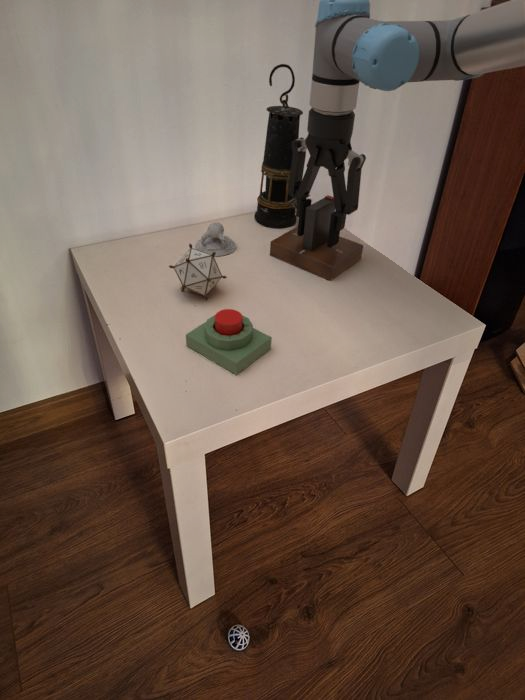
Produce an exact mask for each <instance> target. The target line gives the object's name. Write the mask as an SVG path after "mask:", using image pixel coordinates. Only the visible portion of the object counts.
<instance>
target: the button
mask: <svg viewBox="0 0 525 700" xmlns="http://www.w3.org/2000/svg"><path fill="white" fill-rule="evenodd" d="M214 315H215V330H216V332H217V333H219V334H220V335H226V336H232V335H237V334H239V333H240V332H241V331H242V318H243V317H242V315H243V314H242V313H241V312H240V311H239V310H236V309H234V308H233V309H232V308H224V309H221V310H218V312H216V313H215V314H214Z"/></svg>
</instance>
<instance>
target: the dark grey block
mask: <svg viewBox="0 0 525 700" xmlns="http://www.w3.org/2000/svg"><path fill="white" fill-rule="evenodd" d="M333 212H335V204H334V197H333V196H332V195H329V194H327V195H325V196H324V197H322V198H320V199H319V200H318V201H315V202H313V203H311V205H310V206H308V207H306V217H305V227H304V238H303V248H305V249H307V250H310V251H312V250H314V249H315V248H317V247H318V246H320V245H321V244H323V243H325V242H326V241H328V236H329V228H330V221H331V214H332V213H333Z"/></svg>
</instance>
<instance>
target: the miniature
mask: <svg viewBox="0 0 525 700" xmlns="http://www.w3.org/2000/svg"><path fill="white" fill-rule="evenodd" d="M224 232H225V227H224V225H223V223H220V222H211V223H210V224H209V225H208V227H207V230H206V232H205V233H203V234H202V235H201V238H200V239H199V240H198V241H197V242H196V243H195V245H194V247H195V248H194V249H197V250H200V251H203V252H206V253H209V254H212V253H213V252H216V255H215V257H224V256H228V255H231V254H233V253H234V252H235V251H236V250H237V244H236V242H234V241H233V240H232V239H231V238H230V237H229V236H227V235H226V236H225V235H224Z"/></svg>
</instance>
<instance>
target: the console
mask: <svg viewBox="0 0 525 700" xmlns="http://www.w3.org/2000/svg"><path fill="white" fill-rule="evenodd" d="M297 233H298V225H297V226H296V227H294V228H292V229H291V230H288V231H287V232H285V233H283V234H282V235H279V236H277V237H276V238H274V239H272V240H271V241H270V244H269V256H271V257H273V258H275V259H278V260H280V261H282V262H285V263H287V264H289V265H292V266H294V267H297V268H299V269H302V270H304V271H306V272H308V273H310V274H313V275H316V276H317V277H320V278H323V279H325V280H327V281H328V282H329V281H330V282H331V281H332V280H334V279H336V278H337V277H338V276H340V274H343V272H345V271H346V270H348V269H349V268H351V267H352V266H354V265H355V264H356V263H358V262H360V260H361V259H362V258H363V257H362V256H363V250H364V244H362V243H359V242H356V241H354V240H350V239H348V238H346V237H343V236H340V235H339V242H338V243H337V244H336V245H334V246H333V247H331V248H329V247H327V244H328V241H326V242H325V243H323V244H321V245H320V246H318V247H317V248H315V249H314V250H312V251H310V250H307V249H305V248H303V238H304V235H302V236H298V235H297Z"/></svg>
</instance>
